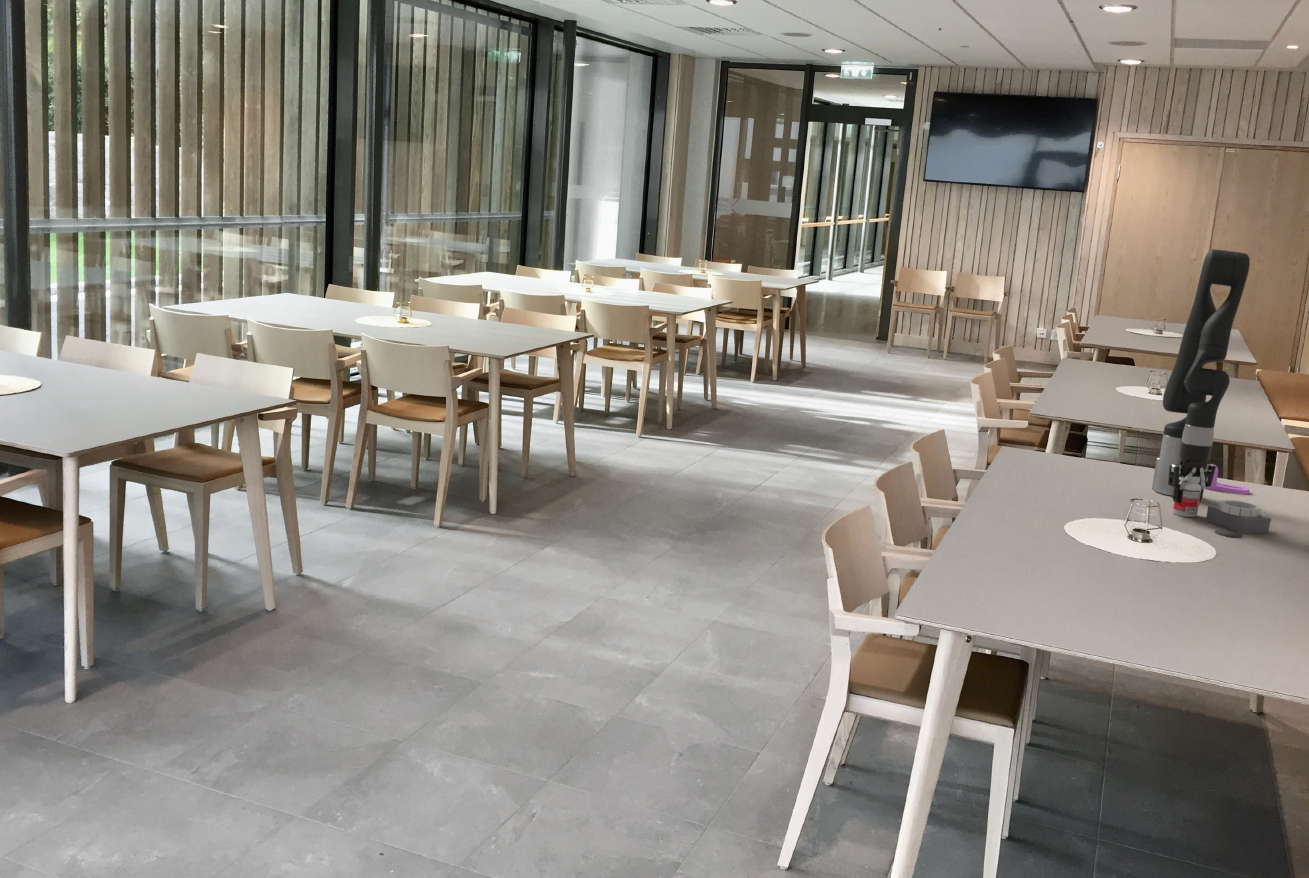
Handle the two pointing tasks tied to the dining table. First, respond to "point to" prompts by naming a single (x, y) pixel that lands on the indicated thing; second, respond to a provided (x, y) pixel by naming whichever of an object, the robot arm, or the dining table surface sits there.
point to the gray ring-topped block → (1239, 517)
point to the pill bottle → (1189, 499)
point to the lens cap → (1228, 533)
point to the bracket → (1226, 486)
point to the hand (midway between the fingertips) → (1186, 501)
